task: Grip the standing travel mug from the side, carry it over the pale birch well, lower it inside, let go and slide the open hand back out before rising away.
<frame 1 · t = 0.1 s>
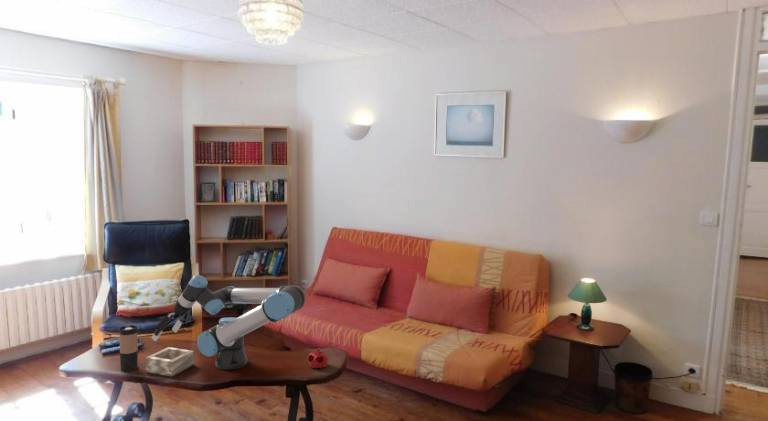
hand: (164, 335, 246), 15 cm above the table, tool tilted 35°, fingers open, 13 cm apart
travel mug: (129, 368, 243), on the table
well: (170, 368, 244), on the table
pomegranate: (317, 366, 252), on the table
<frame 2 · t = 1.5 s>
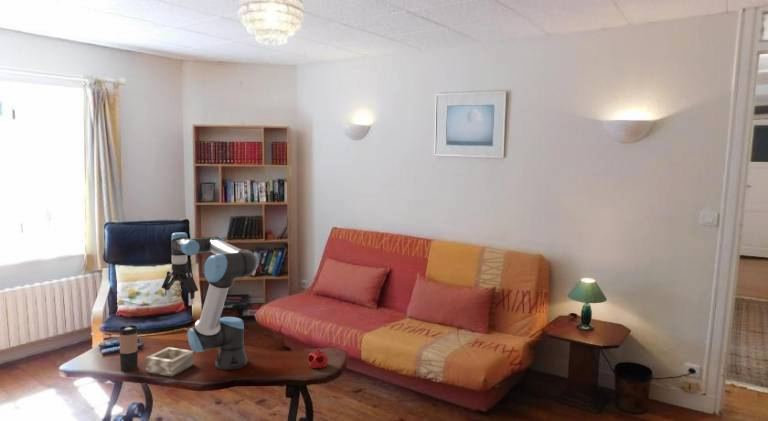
hand: (179, 303, 260), 27 cm above the table, tool pointing down, fingers open, 13 cm apart
nothing on the table moved.
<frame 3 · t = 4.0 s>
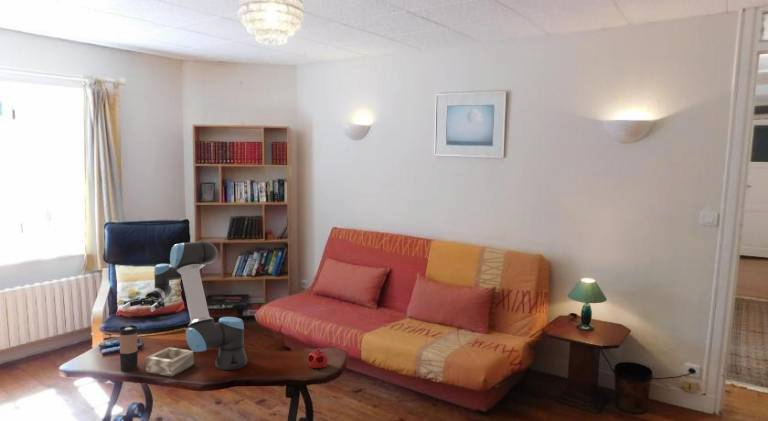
hand: (137, 309, 250), 26 cm above the table, tool horizontal, fingers open, 13 cm apart
nothing on the table moved.
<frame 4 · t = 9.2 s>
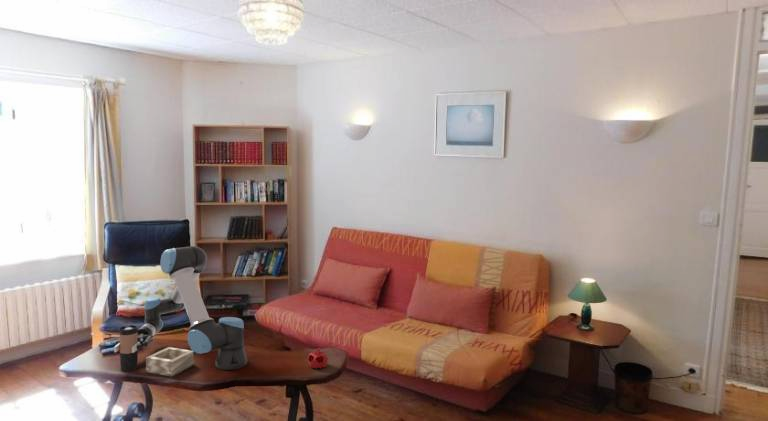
hand: (123, 349, 237), 11 cm above the table, tool horizontal, fingers closed on travel mug, 7 cm apart
travel mug: (129, 368, 243), on the table, touching gripper
everything else where it was.
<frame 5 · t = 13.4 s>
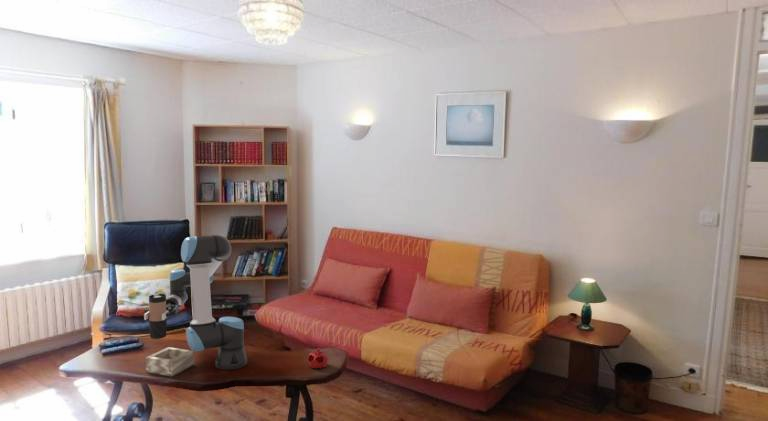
hand: (153, 317, 238), 26 cm above the table, tool horizontal, fingers closed on travel mug, 7 cm apart
travel mug: (158, 336, 244), point 15 cm above the table, touching gripper
everything else where it was.
when the fingers open (13 cm above the table, at t = 17.6 s): travel mug drops 1 cm, resting on well.
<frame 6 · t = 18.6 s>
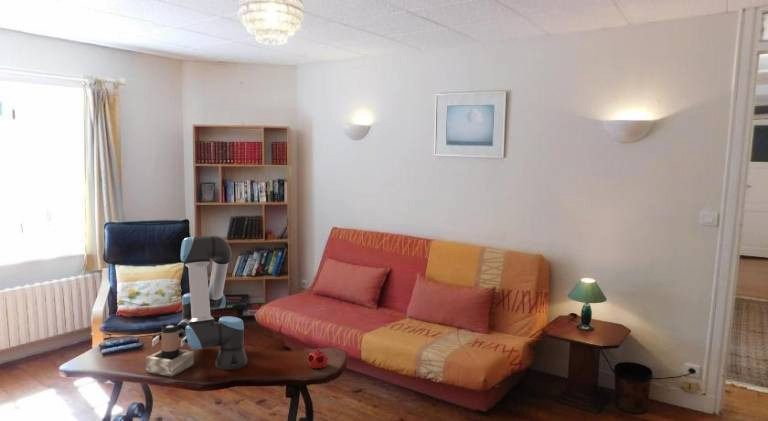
hand: (167, 343, 240), 13 cm above the table, tool horizontal, fingers open, 13 cm apart
travel mug: (170, 366, 244), point 1 cm above the table, touching well
everything else where it was.
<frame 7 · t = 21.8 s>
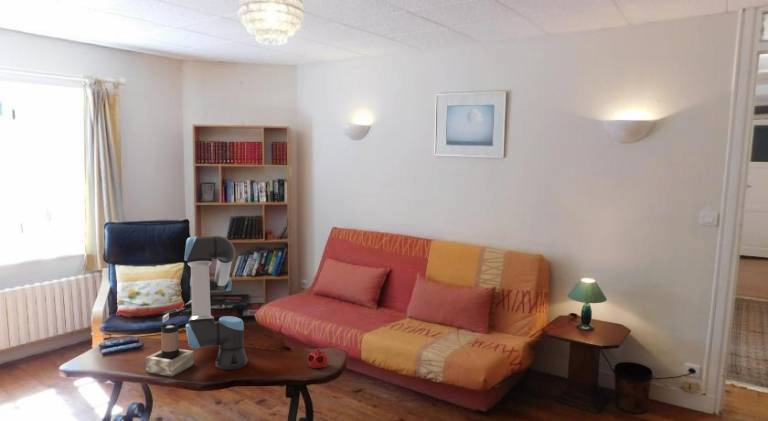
hand: (177, 319, 253), 21 cm above the table, tool horizontal, fingers open, 13 cm apart
nothing on the table moved.
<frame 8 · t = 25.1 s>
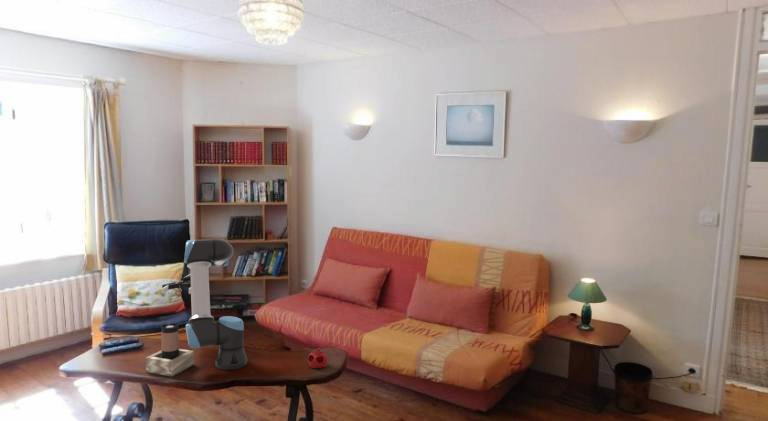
hand: (176, 291, 264), 32 cm above the table, tool horizontal, fingers open, 13 cm apart
nothing on the table moved.
at the end: travel mug 0.1 cm off-centre on the well, point 0.8 cm above the well's base; travel mug tilted 0°; the gripper is holding nothing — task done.
